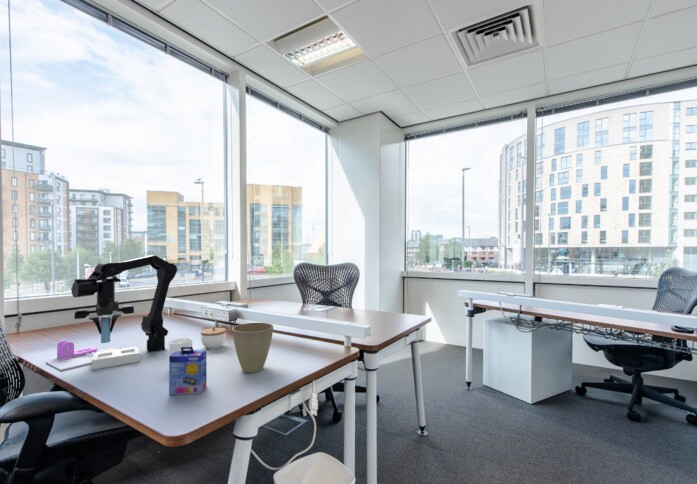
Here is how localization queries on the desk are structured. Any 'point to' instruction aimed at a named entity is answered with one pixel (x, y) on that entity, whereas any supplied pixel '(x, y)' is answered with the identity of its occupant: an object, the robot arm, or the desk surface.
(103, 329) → the peg
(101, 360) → the hole block
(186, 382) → the ink cartridge box
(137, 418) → the desk surface
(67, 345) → the bracket
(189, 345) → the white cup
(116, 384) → the desk surface
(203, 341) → the lidded jar
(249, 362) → the plant pot
